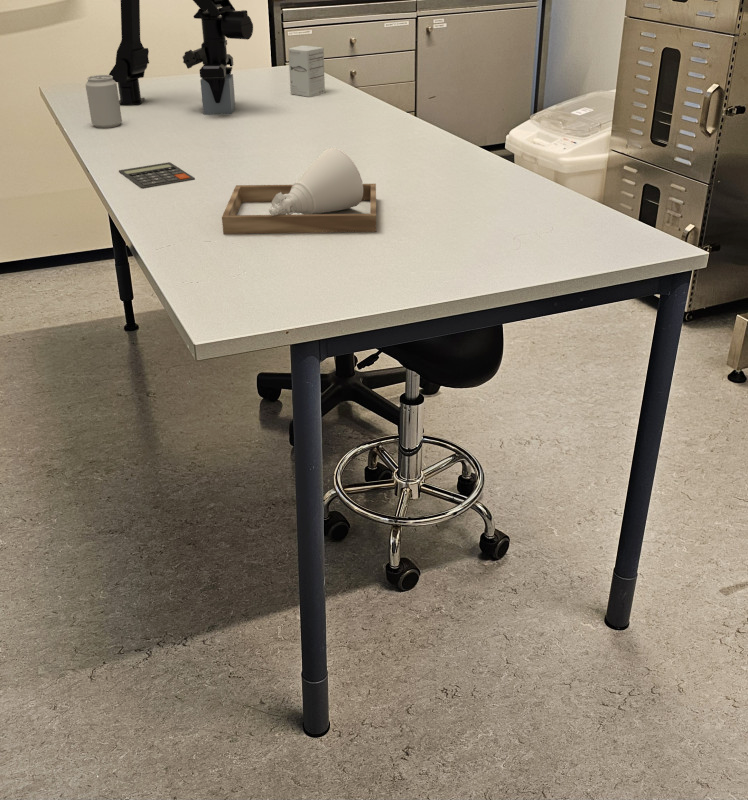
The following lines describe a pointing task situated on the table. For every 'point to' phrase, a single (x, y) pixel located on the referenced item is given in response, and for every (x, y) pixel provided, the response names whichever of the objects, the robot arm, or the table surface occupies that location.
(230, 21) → the robot arm
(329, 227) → the wooden tray
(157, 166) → the calculator
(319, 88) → the supplement box
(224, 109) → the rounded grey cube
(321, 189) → the rocket engine
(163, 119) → the table surface
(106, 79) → the can
